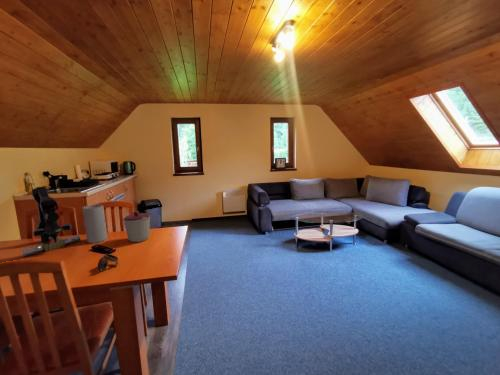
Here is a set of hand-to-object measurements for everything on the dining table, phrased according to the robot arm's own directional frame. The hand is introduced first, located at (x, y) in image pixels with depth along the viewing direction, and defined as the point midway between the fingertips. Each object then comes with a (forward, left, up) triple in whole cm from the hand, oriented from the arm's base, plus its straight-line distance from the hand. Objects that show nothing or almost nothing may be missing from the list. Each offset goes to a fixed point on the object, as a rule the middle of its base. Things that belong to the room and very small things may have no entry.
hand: (56, 242), depth 163 cm
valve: (-10, +1, -7) cm, 12 cm away
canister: (+28, +40, -7) cm, 49 cm away
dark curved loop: (+54, +5, -7) cm, 55 cm away
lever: (-5, -1, 0) cm, 5 cm away
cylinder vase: (+1, +24, -7) cm, 25 cm away
